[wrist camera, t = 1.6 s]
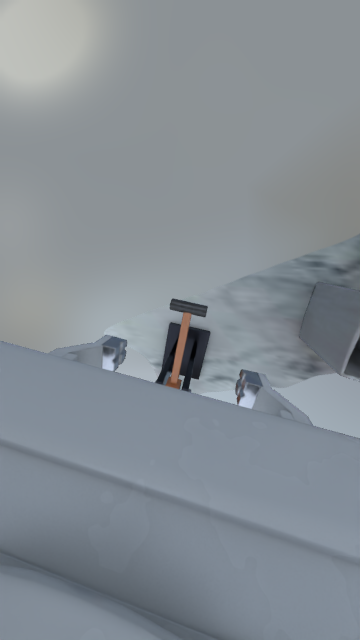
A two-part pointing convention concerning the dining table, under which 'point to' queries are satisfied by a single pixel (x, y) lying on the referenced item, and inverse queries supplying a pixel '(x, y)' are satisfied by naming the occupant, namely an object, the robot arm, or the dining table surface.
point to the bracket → (191, 356)
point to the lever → (183, 335)
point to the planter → (334, 328)
